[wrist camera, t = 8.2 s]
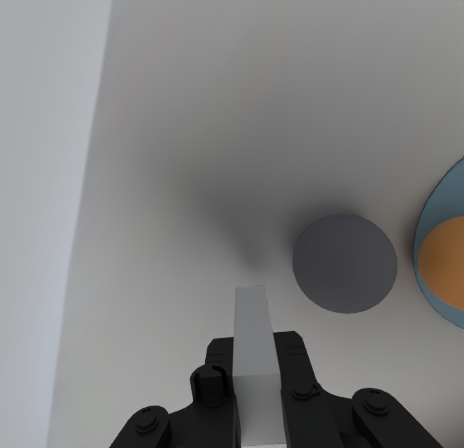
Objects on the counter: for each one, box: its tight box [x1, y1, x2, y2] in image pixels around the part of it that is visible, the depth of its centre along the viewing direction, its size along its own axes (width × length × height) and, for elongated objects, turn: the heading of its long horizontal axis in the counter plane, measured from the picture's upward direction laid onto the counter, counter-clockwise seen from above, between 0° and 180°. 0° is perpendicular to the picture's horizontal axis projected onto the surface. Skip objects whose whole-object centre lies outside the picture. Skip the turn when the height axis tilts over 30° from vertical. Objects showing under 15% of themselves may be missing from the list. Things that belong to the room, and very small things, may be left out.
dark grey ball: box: [293, 214, 397, 313], centre depth 17 cm, size 6×6×6 cm
